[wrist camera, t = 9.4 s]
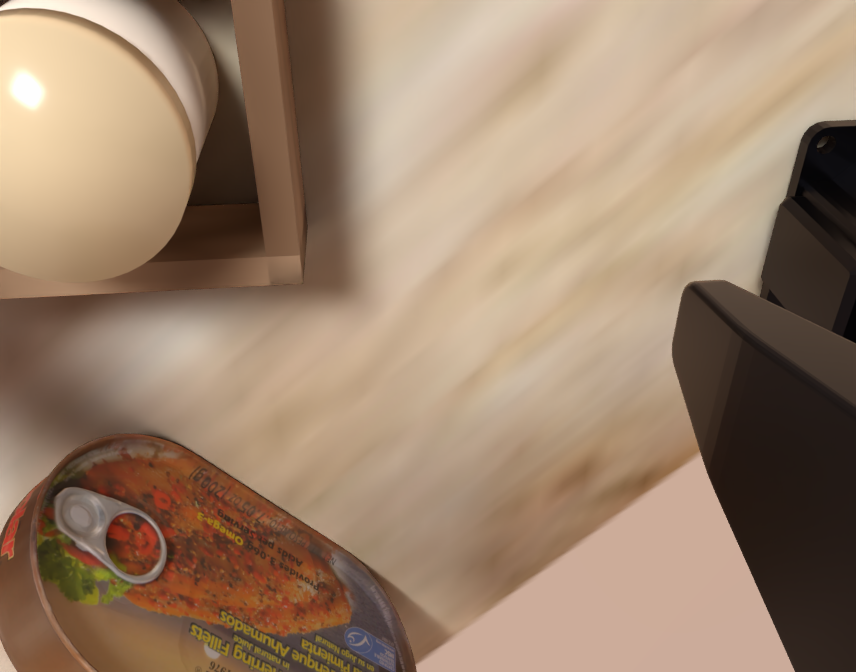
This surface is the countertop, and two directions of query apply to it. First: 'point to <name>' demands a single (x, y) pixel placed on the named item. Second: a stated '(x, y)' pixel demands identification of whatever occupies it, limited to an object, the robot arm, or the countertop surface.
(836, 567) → the robot arm
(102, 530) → the tin
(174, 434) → the countertop surface
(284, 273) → the caddy
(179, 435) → the countertop surface
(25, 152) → the cream lidded jar
